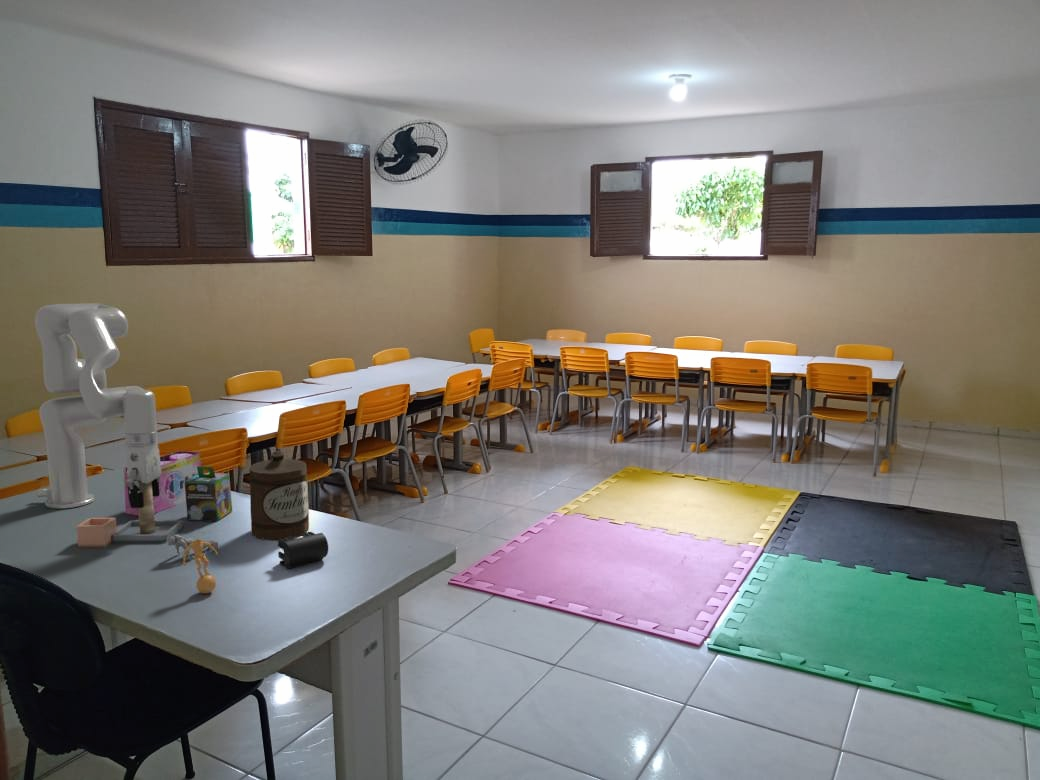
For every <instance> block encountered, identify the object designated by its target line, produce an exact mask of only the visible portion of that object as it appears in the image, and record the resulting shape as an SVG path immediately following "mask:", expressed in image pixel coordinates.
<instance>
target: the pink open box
mask: <svg viewBox="0 0 1040 780" xmlns="http://www.w3.org/2000/svg"><path fill="white" fill-rule="evenodd" d="M117 530H118V529H117V518H116V517H88V519H85V520H84V521H83V522H81V523H80V524H78V525H77V526H76V535H77V547H78V548H106V547H108V546H109V545H110V544H112V543H111V535H113V534H114V533H115V532H117Z"/></svg>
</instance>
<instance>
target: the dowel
mask: <svg viewBox="0 0 1040 780" xmlns="http://www.w3.org/2000/svg"><path fill="white" fill-rule="evenodd" d="M136 481H141V480H136ZM137 487H139V485H137ZM142 492H143V494H144V507H143V508H138V511H139V515H138V520H139V524H140V534H151V533H154V532H155V513H154V508H153V495H152V482H150V483H148V484H145V483H144V484H143V488H142Z"/></svg>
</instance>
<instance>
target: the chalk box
mask: <svg viewBox="0 0 1040 780" xmlns="http://www.w3.org/2000/svg"><path fill="white" fill-rule="evenodd" d="M197 470H198V475H196V476H193V477H191V478H190V479H189V480H187V481H185V494H186V502H185V504H186V515H187V516H186V517H187V520H188V521H203V522H218V521H220V520H221V519H223V518H225V516H227V515H228V514H230V513H231V512H233V505H232V504H233V503H232V491H231V478H230V473H229V472H226V473H225V472H215V469H214V467H213V466H202V465H201V466H198V467H197ZM205 470H206V471H208V472H203V471H205Z"/></svg>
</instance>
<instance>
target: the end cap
mask: <svg viewBox="0 0 1040 780" xmlns="http://www.w3.org/2000/svg"><path fill="white" fill-rule="evenodd" d="M300 536H301V537H299V538H298V537H297V538H291V537H286V538H282V539H279V540H277V547H278V548H280V549H282V551H283V552H282V551H278V553H277V555H278V558H279V559H281V560H280V561H279V565H280V566H282V567H283V568H285V569H291V568H292V569H293V568H295V567H299V566H302V565H306V564H311V563H315V562H318V561H321V560H323V559H325V558H326V557H327V556H328V553H329V543H328V539H327V536H326V535H325V534H324V533H323V532H318V533H314V532H312V531H307V532H306V533H303V534H301V535H300Z"/></svg>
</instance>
